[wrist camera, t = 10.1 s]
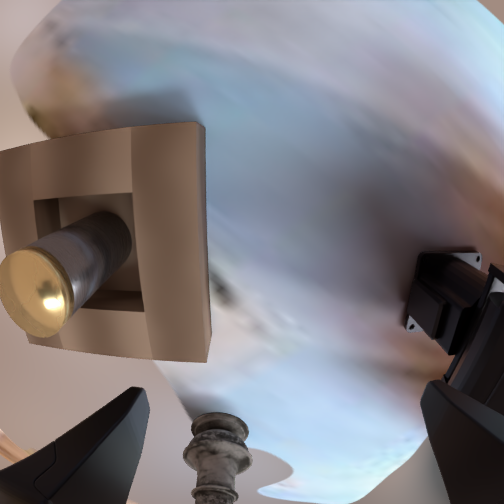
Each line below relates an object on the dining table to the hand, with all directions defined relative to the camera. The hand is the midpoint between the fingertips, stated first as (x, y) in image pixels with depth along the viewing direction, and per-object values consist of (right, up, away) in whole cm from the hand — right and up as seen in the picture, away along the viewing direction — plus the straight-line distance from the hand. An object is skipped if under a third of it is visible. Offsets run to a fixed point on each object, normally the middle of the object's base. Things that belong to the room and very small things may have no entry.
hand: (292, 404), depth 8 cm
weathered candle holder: (-4, -12, +17) cm, 21 cm away
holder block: (-11, +5, +11) cm, 17 cm away
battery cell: (-11, +5, +11) cm, 16 cm away
